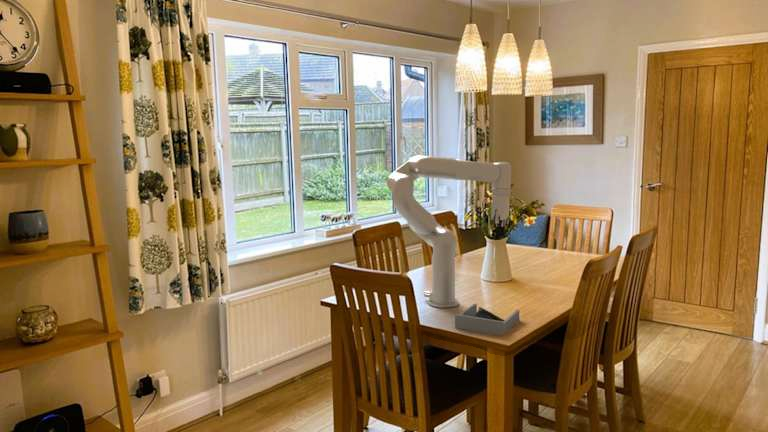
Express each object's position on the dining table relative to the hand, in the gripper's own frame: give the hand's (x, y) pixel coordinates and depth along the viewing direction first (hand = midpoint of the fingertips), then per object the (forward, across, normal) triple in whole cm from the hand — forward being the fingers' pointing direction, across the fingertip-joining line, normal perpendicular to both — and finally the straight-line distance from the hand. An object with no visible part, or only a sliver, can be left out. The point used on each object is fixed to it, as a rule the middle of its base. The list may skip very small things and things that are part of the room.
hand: (500, 235), depth 241 cm
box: (+27, +33, +7) cm, 43 cm away
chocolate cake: (+28, +34, +8) cm, 44 cm away
